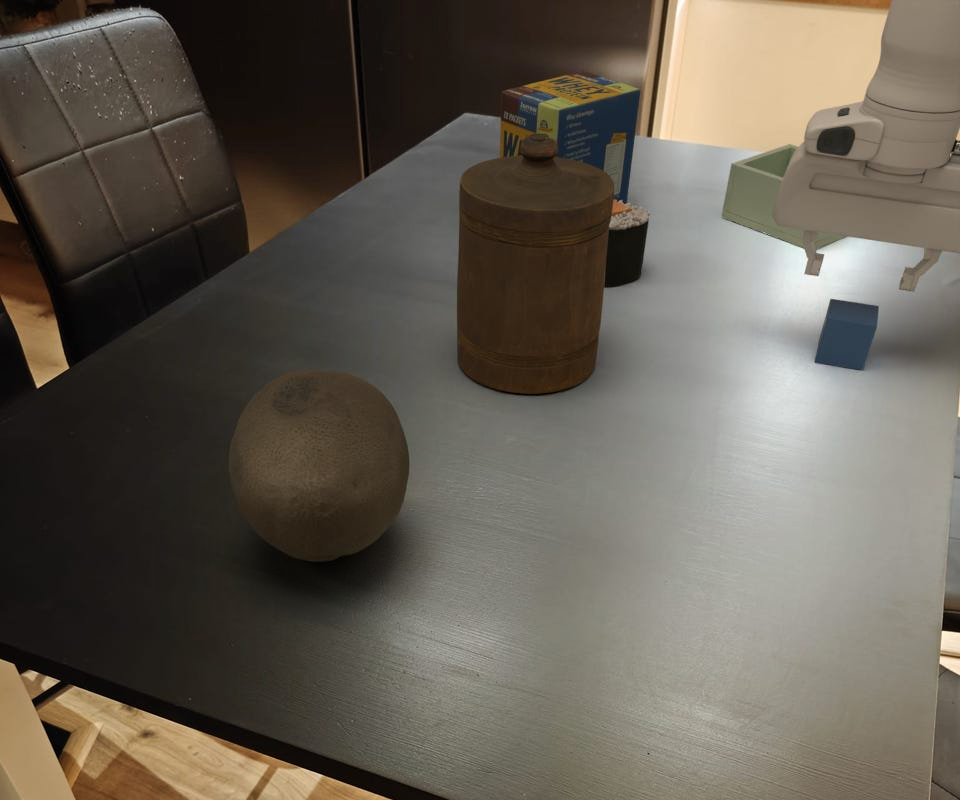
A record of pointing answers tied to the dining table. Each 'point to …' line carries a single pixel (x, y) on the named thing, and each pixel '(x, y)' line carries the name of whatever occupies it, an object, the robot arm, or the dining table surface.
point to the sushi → (625, 243)
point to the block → (847, 334)
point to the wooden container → (531, 268)
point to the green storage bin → (763, 195)
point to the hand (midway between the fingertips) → (858, 281)
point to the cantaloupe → (319, 464)
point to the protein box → (576, 121)
